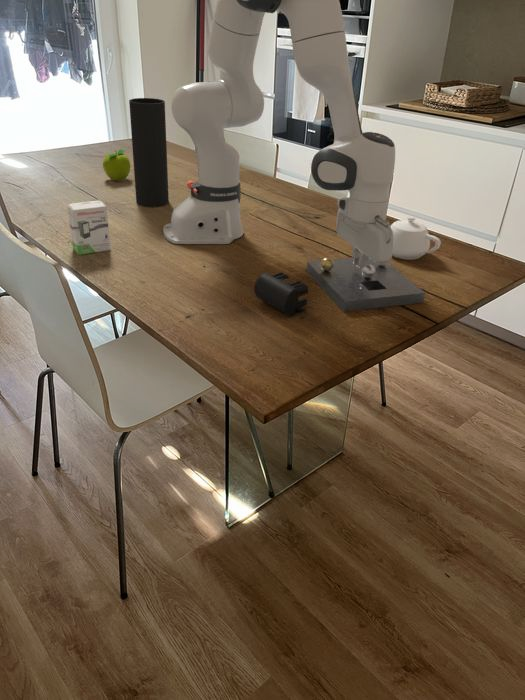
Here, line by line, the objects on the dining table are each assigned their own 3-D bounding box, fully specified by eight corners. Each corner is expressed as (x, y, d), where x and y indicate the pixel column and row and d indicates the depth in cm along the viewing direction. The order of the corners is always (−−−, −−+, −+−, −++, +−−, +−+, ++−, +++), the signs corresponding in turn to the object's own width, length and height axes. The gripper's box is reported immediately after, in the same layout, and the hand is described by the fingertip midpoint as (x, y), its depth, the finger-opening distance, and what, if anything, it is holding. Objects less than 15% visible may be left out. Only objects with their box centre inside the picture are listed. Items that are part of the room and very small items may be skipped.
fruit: (137, 179, 200) (135, 150, 195) (118, 185, 193) (115, 155, 188) (118, 174, 204) (115, 146, 199) (99, 180, 197) (96, 150, 192)
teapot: (360, 247, 156) (365, 211, 150) (385, 237, 163) (391, 202, 158) (422, 270, 144) (430, 232, 139) (447, 258, 152) (455, 222, 146)
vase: (147, 209, 173) (140, 104, 158) (130, 200, 180) (122, 99, 164) (175, 203, 179) (171, 102, 163) (157, 195, 186) (152, 97, 170)
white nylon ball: (379, 268, 137) (381, 256, 136) (372, 263, 140) (374, 251, 138) (390, 267, 138) (392, 255, 136) (384, 262, 141) (386, 250, 139)
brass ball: (322, 273, 133) (324, 261, 131) (317, 268, 136) (318, 256, 134) (334, 272, 134) (336, 260, 132) (329, 267, 136) (331, 254, 135)
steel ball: (365, 265, 129) (357, 266, 132) (367, 279, 130) (360, 279, 133) (376, 262, 130) (369, 263, 133) (379, 276, 131) (371, 276, 134)
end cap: (252, 303, 124) (254, 275, 120) (276, 295, 128) (278, 267, 124) (283, 321, 118) (286, 292, 114) (307, 312, 122) (310, 283, 118)
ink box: (78, 255, 141) (72, 209, 135) (72, 248, 145) (66, 203, 138) (111, 250, 145) (107, 205, 139) (105, 243, 149) (100, 199, 142)
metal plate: (343, 311, 123) (345, 301, 121) (306, 270, 140) (307, 261, 139) (423, 302, 128) (425, 292, 127) (377, 264, 146) (379, 255, 145)
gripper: (405, 223, 120) (394, 282, 128) (357, 195, 136) (350, 249, 144) (379, 226, 118) (370, 285, 126) (334, 197, 134) (328, 251, 142)
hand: (359, 266), depth 135 cm, fingers closed
